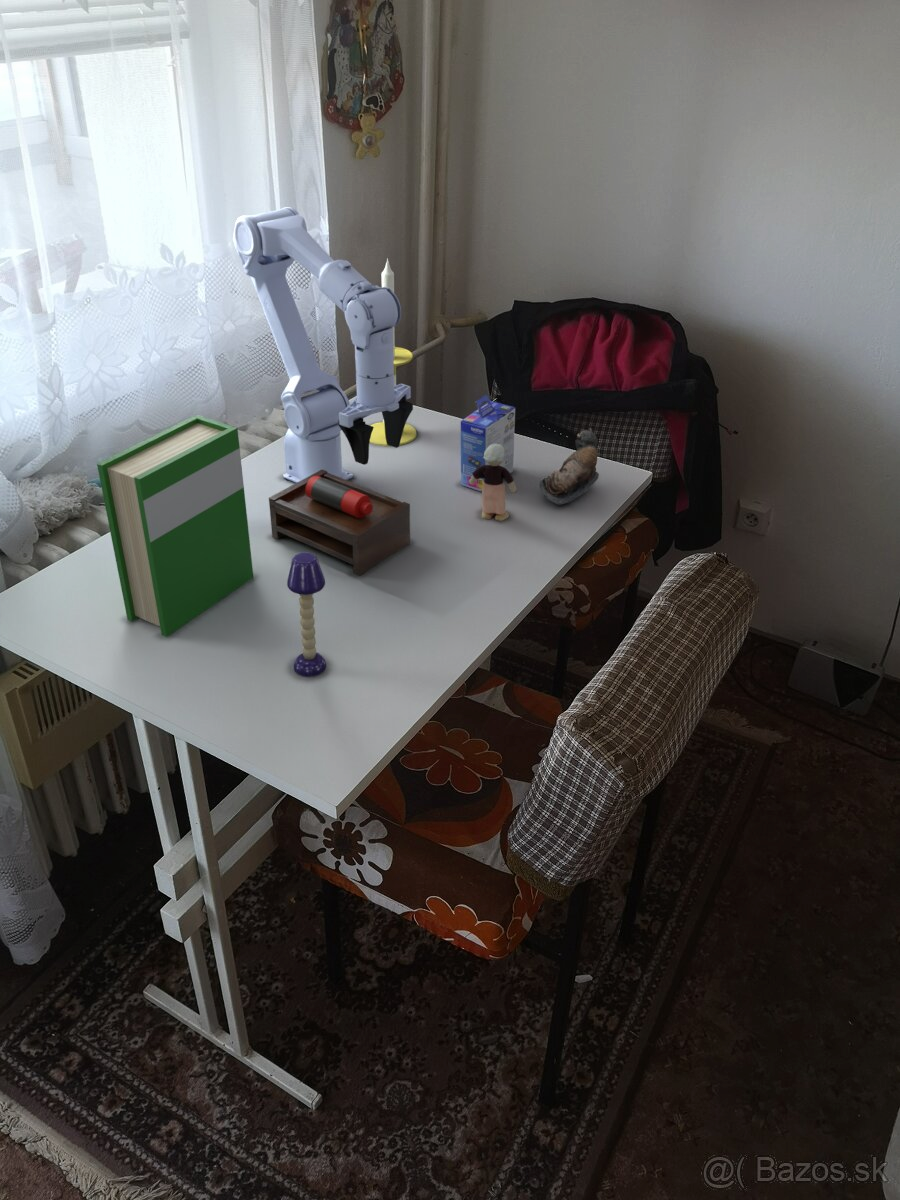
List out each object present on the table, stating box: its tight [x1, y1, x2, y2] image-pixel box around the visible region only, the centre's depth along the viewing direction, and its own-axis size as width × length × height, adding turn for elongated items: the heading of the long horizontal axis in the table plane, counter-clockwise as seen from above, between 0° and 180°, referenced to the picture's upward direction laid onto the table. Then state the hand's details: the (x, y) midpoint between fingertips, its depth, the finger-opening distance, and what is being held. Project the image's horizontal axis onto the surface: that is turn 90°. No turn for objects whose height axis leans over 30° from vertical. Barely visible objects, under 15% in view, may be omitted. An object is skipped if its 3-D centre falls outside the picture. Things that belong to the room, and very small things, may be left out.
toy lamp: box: [286, 551, 327, 678], centre depth 130 cm, size 5×5×17 cm
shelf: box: [268, 469, 411, 577], centre depth 159 cm, size 18×12×7 cm, turn 53°
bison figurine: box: [539, 427, 600, 506], centre depth 171 cm, size 12×7×10 cm, turn 142°
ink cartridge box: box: [460, 394, 516, 493], centre depth 174 cm, size 10×6×14 cm, turn 147°
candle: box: [369, 257, 417, 447], centre depth 183 cm, size 10×10×32 cm
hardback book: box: [96, 414, 254, 638], centre depth 140 cm, size 18×7×24 cm, turn 148°
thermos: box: [305, 476, 373, 518], centre depth 156 cm, size 11×4×4 cm, turn 53°
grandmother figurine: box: [469, 443, 517, 522], centre depth 164 cm, size 8×4×13 cm, turn 84°
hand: (377, 453), depth 162 cm, fingers open, 7 cm apart
